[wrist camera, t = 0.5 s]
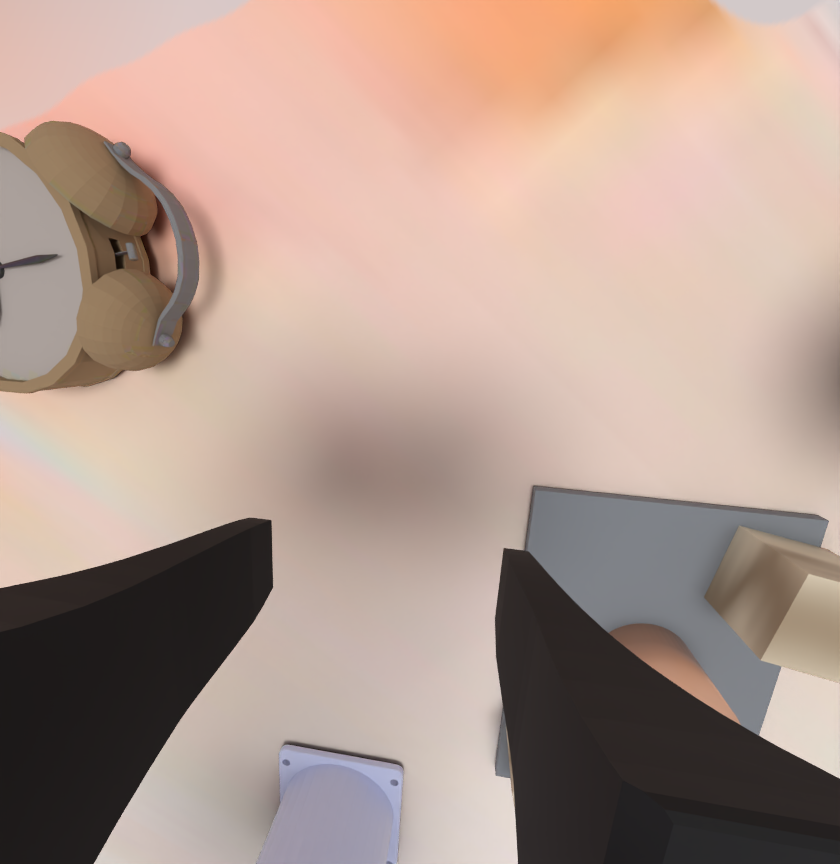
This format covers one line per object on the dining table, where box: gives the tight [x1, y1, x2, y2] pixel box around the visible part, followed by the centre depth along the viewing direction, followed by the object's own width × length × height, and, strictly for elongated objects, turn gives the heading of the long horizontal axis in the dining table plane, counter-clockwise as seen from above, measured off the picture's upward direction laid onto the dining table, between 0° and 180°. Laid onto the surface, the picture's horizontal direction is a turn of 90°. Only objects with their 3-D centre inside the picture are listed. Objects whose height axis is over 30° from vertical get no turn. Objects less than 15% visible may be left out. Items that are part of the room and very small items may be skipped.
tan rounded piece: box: [609, 623, 741, 725], centre depth 19 cm, size 5×5×4 cm
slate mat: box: [495, 486, 829, 778], centre depth 21 cm, size 18×13×1 cm
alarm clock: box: [0, 121, 199, 393], centre depth 19 cm, size 11×5×15 cm
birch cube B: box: [704, 526, 840, 683], centre depth 17 cm, size 4×4×4 cm
